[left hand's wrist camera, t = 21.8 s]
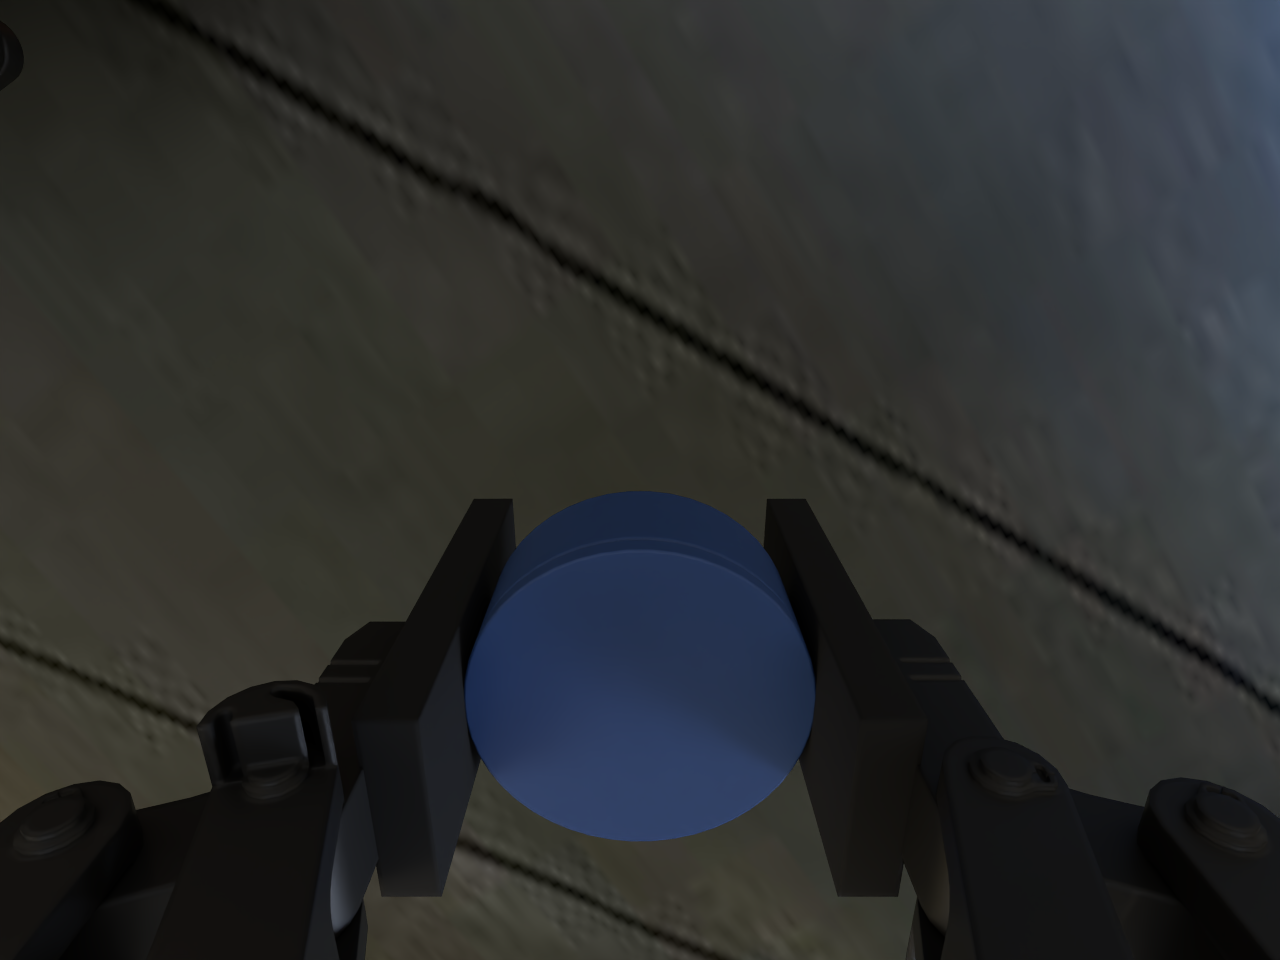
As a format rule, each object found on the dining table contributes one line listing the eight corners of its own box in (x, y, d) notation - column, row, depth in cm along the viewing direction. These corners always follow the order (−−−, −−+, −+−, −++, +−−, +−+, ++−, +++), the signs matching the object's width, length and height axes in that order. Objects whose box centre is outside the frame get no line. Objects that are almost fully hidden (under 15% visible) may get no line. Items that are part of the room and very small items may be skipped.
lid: (593, 430, 11) (582, 480, 9) (848, 589, 12) (891, 666, 10) (439, 662, 13) (400, 749, 11) (678, 787, 14) (684, 888, 12)
